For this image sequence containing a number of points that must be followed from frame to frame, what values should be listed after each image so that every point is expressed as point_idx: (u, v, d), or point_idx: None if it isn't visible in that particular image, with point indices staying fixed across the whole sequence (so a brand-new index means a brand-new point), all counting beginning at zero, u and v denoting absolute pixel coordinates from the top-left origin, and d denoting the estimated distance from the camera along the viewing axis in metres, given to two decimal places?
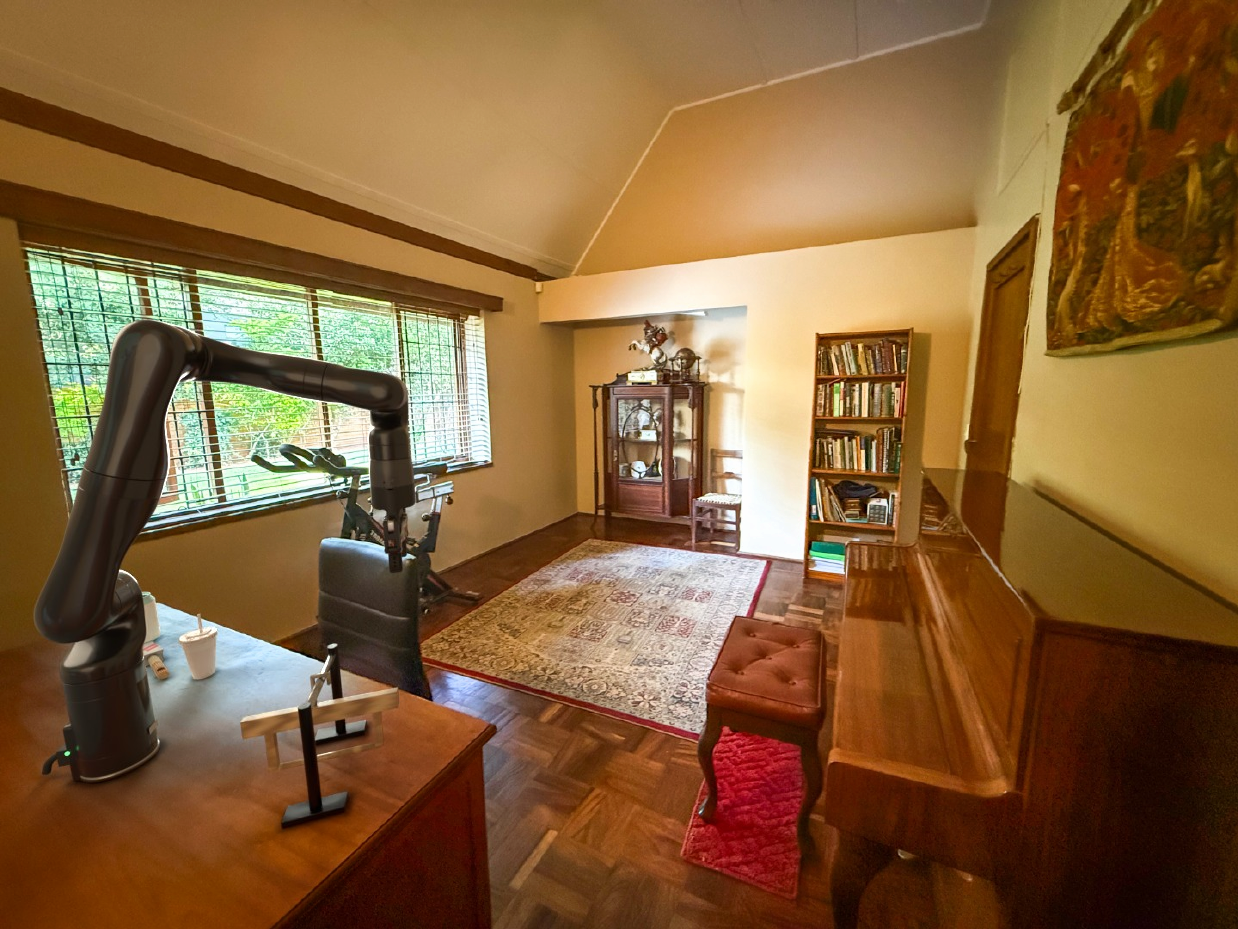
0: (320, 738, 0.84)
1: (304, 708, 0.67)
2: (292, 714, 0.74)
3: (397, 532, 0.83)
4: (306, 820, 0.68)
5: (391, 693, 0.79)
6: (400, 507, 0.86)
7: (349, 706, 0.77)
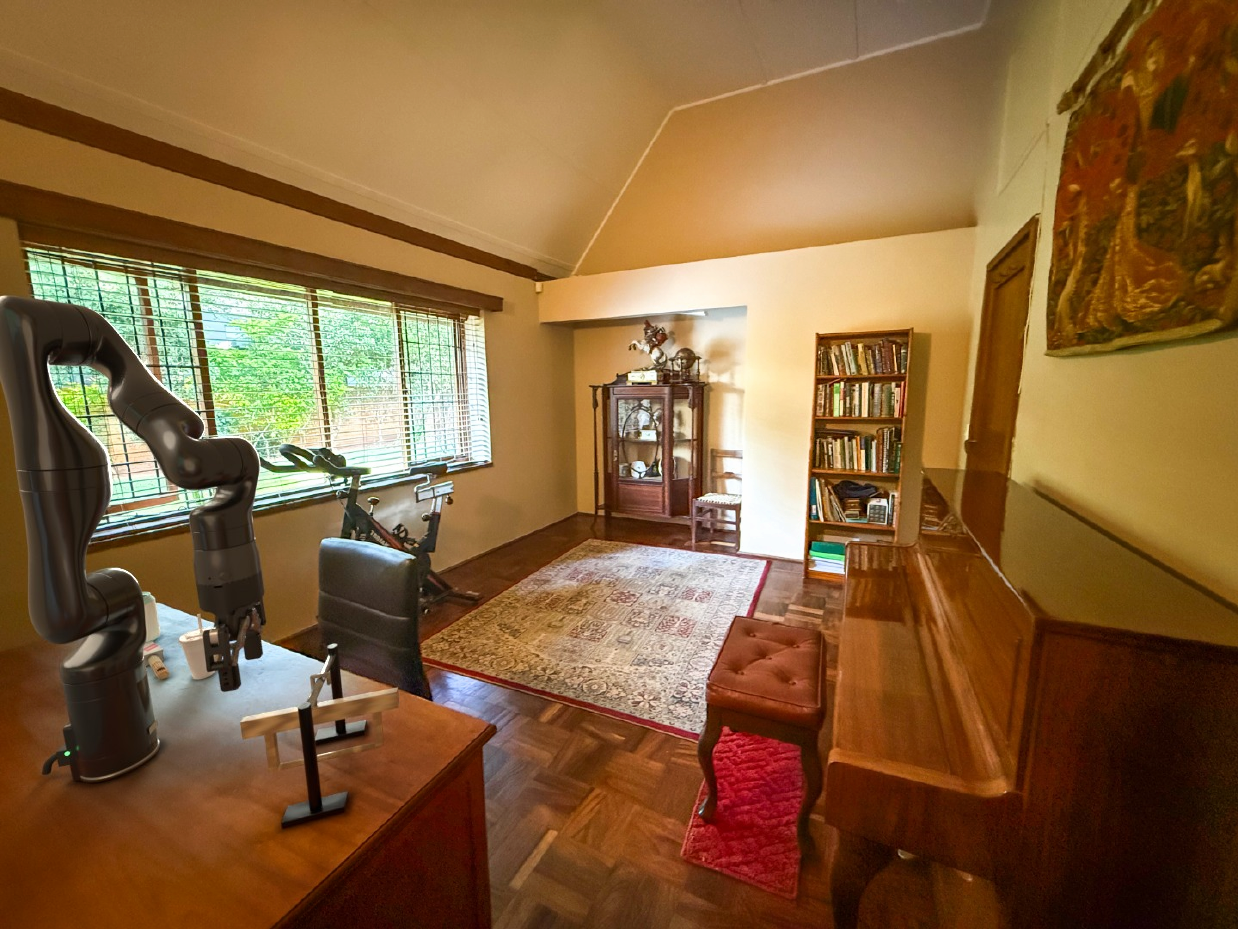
0: (320, 738, 0.84)
1: (304, 708, 0.67)
2: (292, 714, 0.74)
3: (223, 644, 0.64)
4: (306, 820, 0.68)
5: (391, 693, 0.79)
6: (234, 608, 0.67)
7: (349, 706, 0.77)
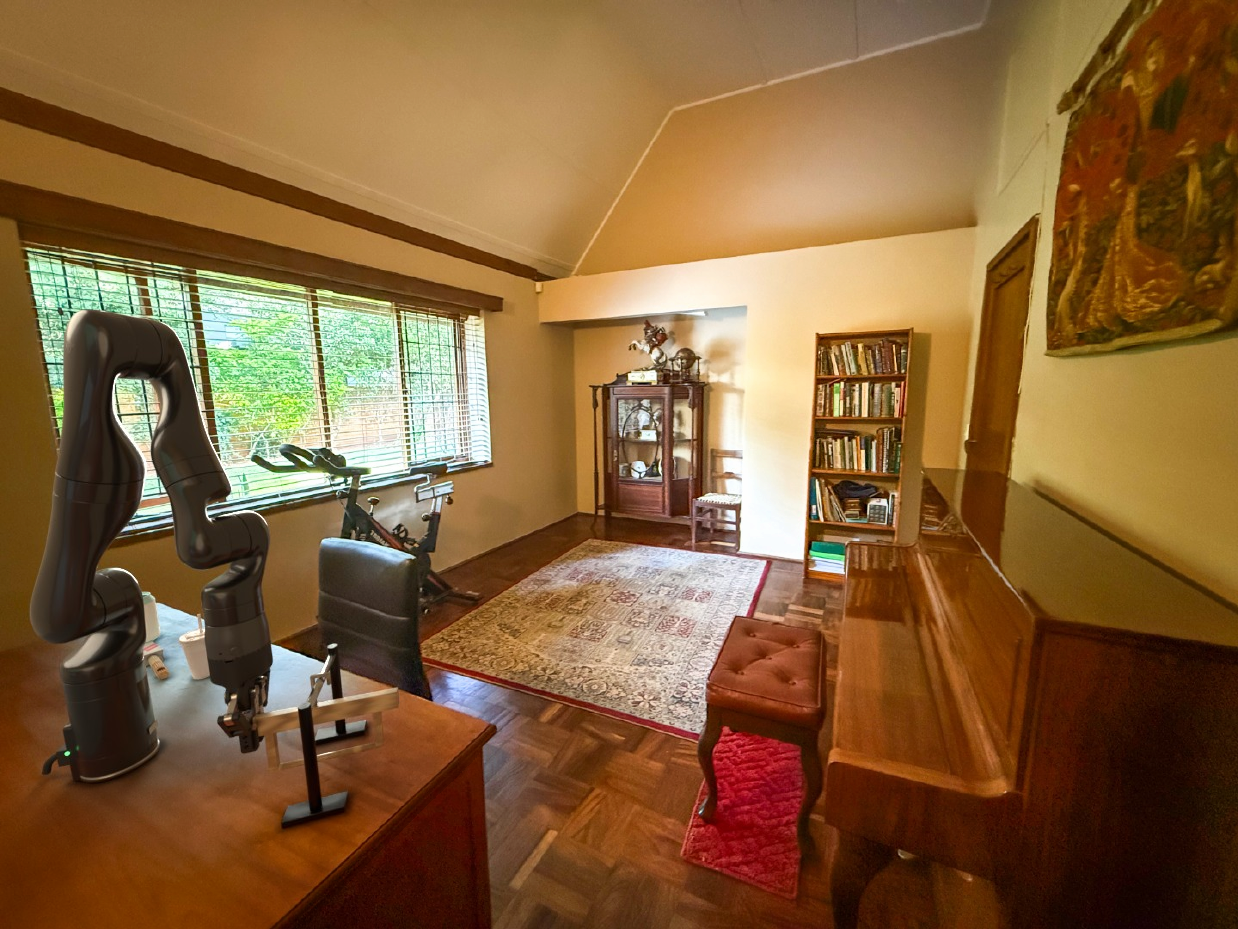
0: (320, 738, 0.84)
1: (304, 708, 0.67)
2: (292, 714, 0.74)
3: (240, 725, 0.68)
4: (306, 820, 0.68)
5: (391, 693, 0.79)
6: (244, 681, 0.69)
7: (349, 706, 0.77)
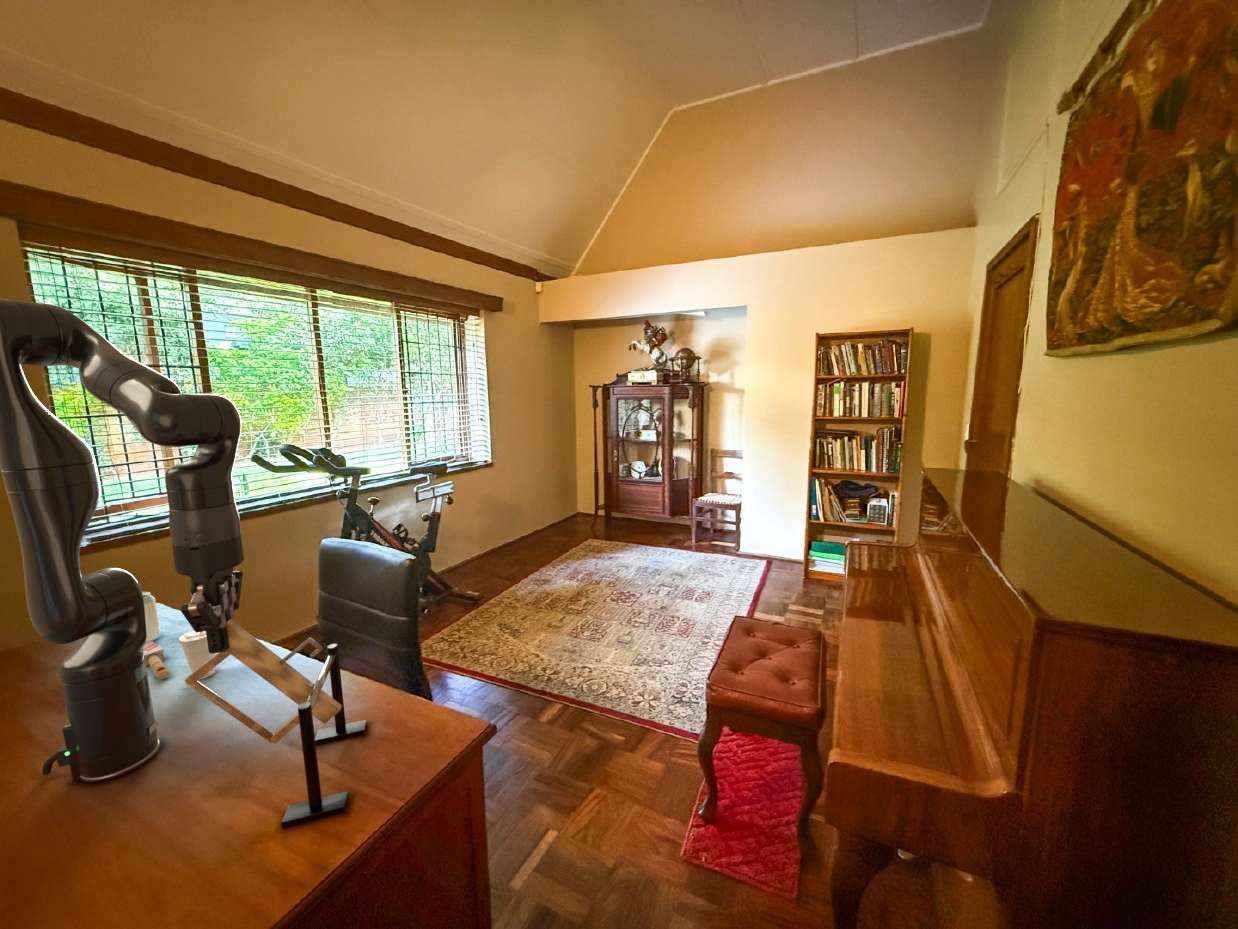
0: (320, 738, 0.84)
1: (304, 708, 0.67)
2: (262, 654, 0.71)
3: (206, 616, 0.64)
4: (306, 820, 0.68)
5: (336, 708, 0.75)
6: (211, 571, 0.65)
7: (301, 688, 0.73)
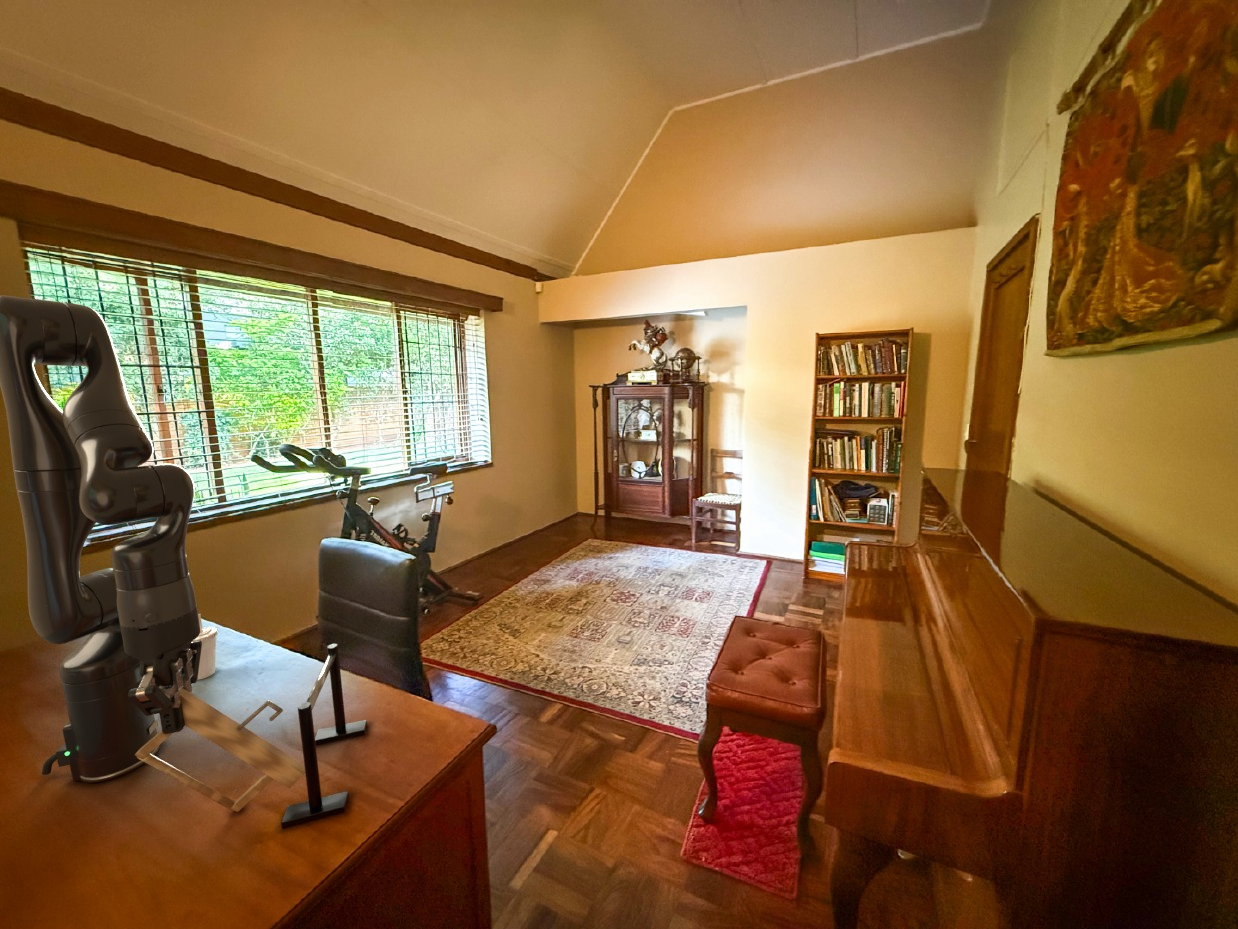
0: (320, 738, 0.84)
1: (304, 708, 0.67)
2: (217, 721, 0.67)
3: (156, 700, 0.60)
4: (306, 820, 0.68)
5: (300, 771, 0.72)
6: (162, 651, 0.62)
7: (261, 753, 0.70)
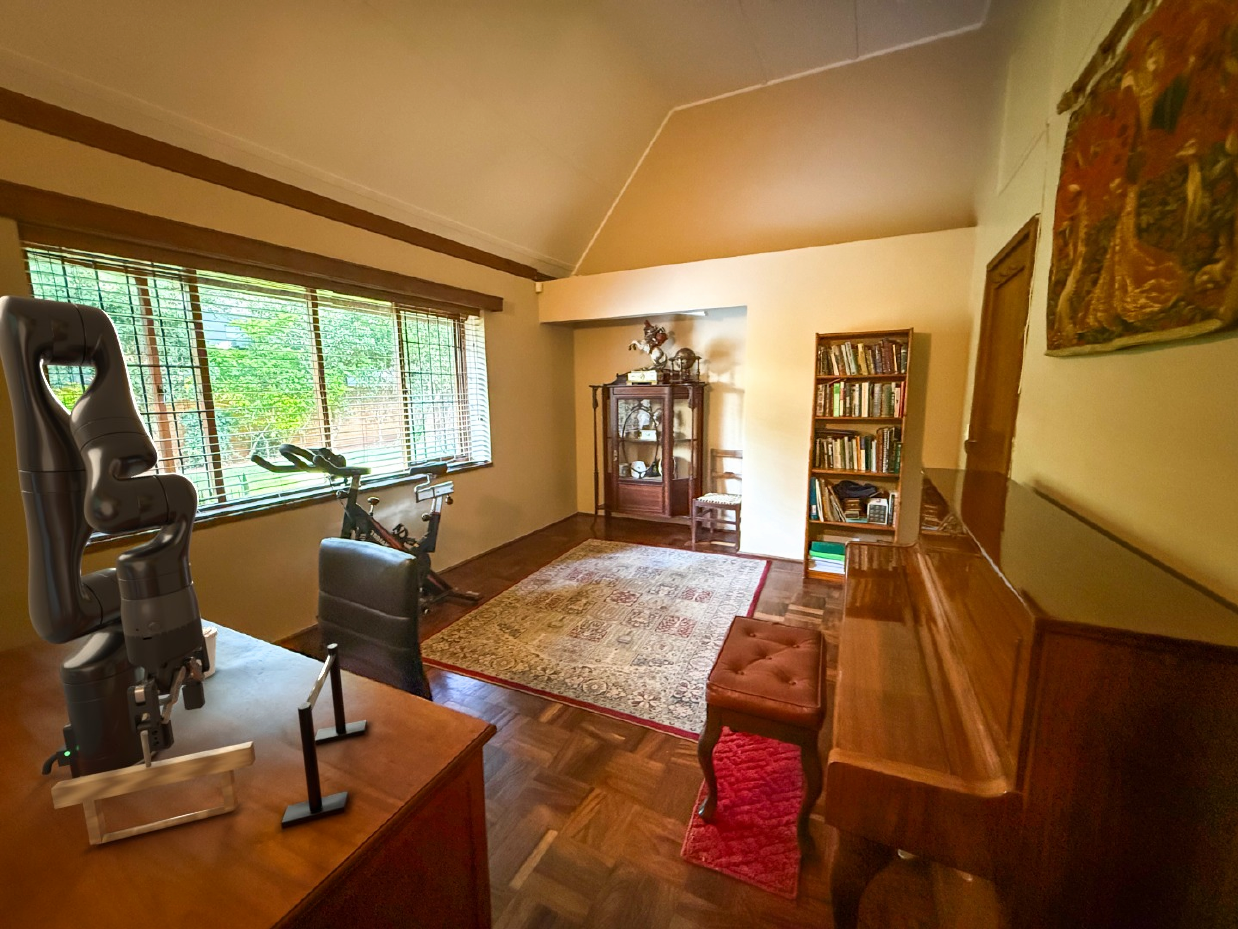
0: (320, 738, 0.84)
1: (304, 708, 0.67)
2: (118, 777, 0.64)
3: (150, 702, 0.59)
4: (306, 820, 0.68)
5: (243, 749, 0.69)
6: (166, 660, 0.62)
7: (190, 765, 0.67)
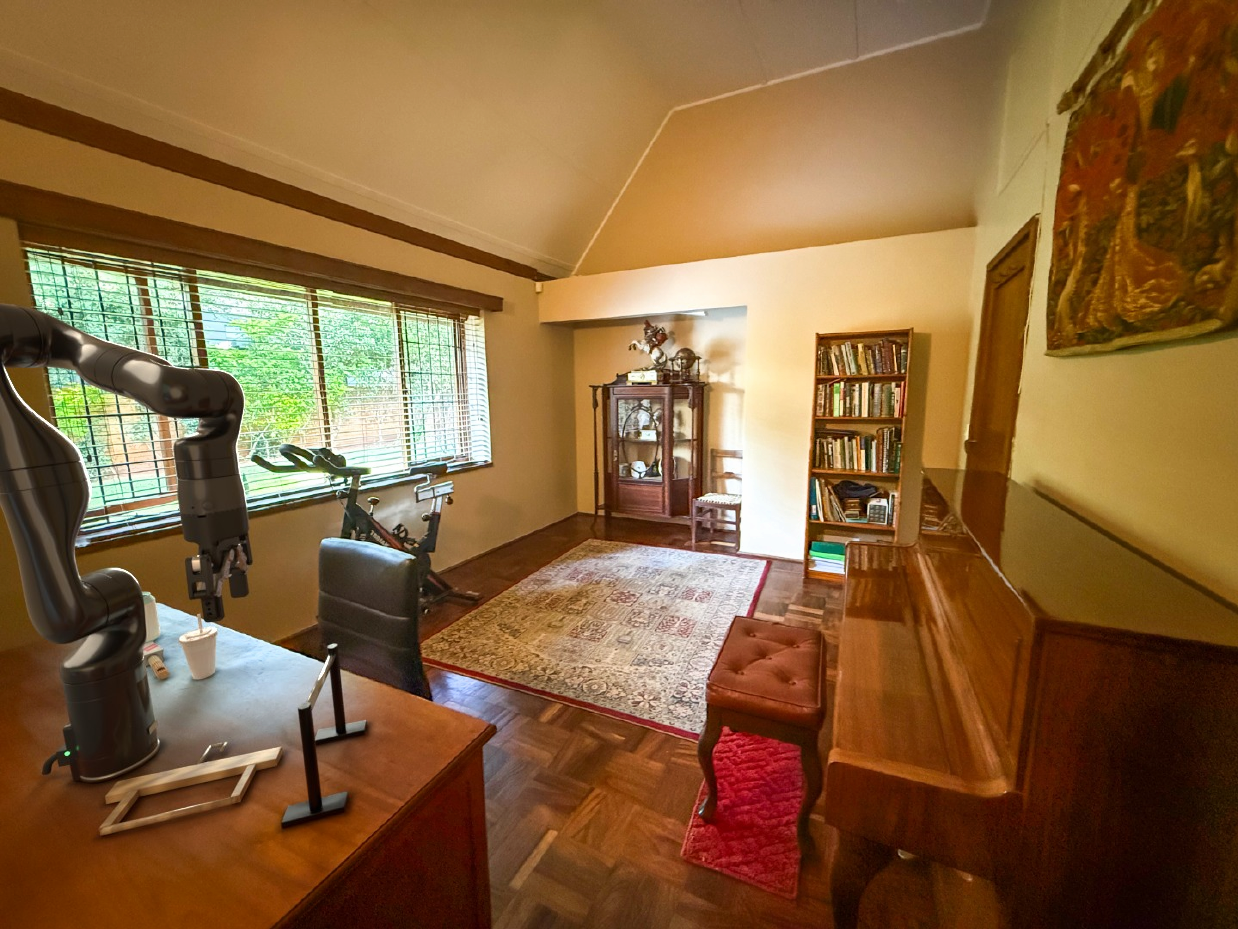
0: (320, 738, 0.84)
1: (304, 708, 0.67)
2: (171, 771, 0.76)
3: (206, 572, 0.64)
4: (306, 820, 0.68)
5: None
6: (218, 539, 0.67)
7: (229, 760, 0.78)
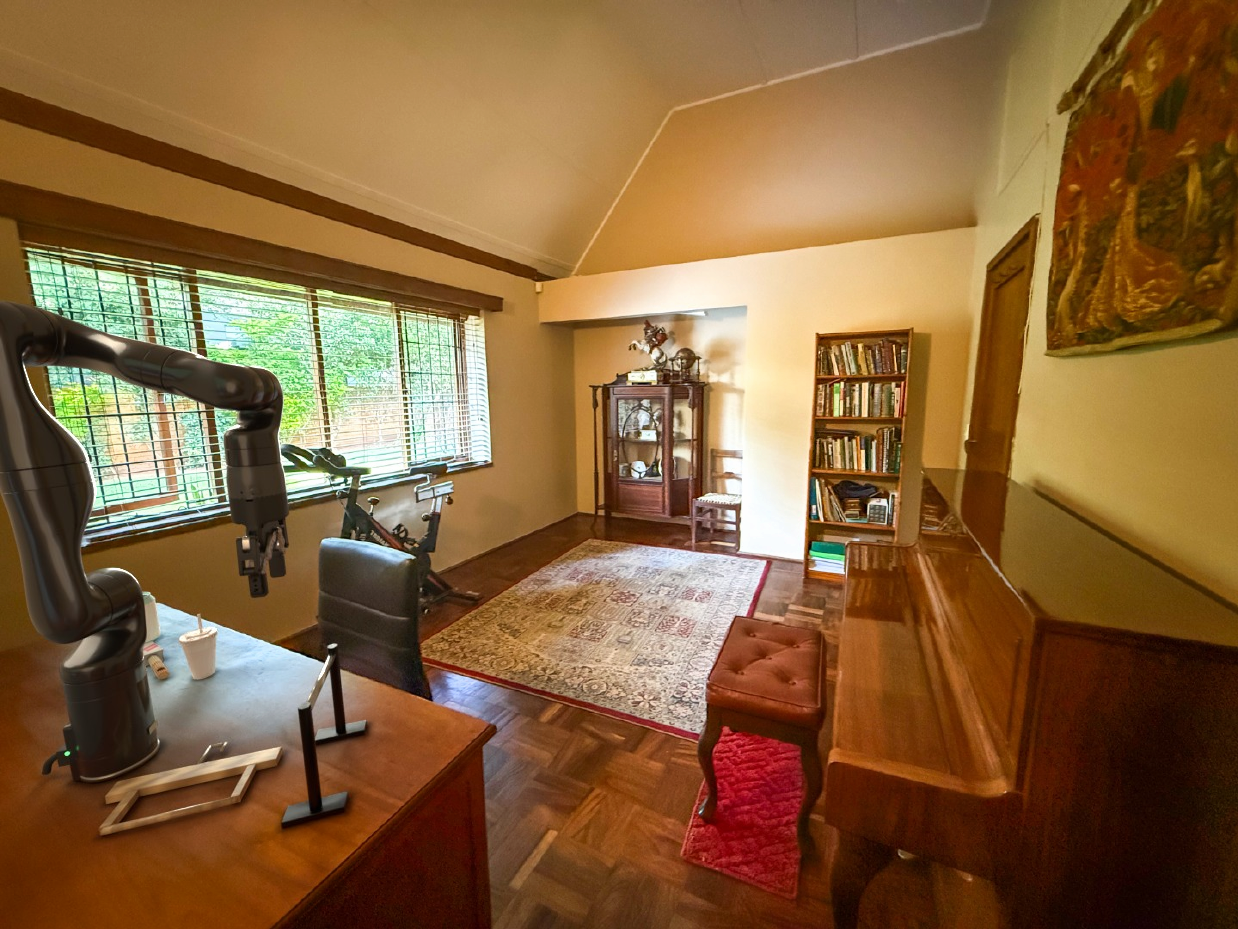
0: (320, 738, 0.84)
1: (304, 708, 0.67)
2: (171, 771, 0.76)
3: (254, 551, 0.71)
4: (306, 820, 0.68)
5: None
6: (263, 521, 0.74)
7: (229, 760, 0.78)
